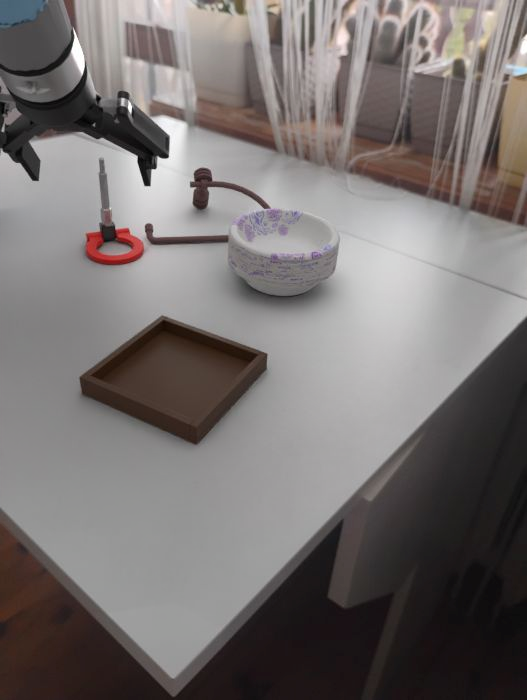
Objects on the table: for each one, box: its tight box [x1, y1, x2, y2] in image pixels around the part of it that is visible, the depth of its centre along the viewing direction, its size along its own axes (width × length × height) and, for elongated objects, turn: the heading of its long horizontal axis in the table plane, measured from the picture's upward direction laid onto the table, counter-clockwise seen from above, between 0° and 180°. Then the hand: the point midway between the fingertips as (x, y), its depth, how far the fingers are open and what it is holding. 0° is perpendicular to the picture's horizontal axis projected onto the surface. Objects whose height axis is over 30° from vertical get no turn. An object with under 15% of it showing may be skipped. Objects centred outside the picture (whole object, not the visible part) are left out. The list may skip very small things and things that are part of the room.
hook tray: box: [79, 314, 268, 445], centre depth 69 cm, size 15×15×2 cm
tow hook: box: [85, 157, 145, 265], centre depth 90 cm, size 8×13×9 cm
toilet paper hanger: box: [144, 167, 272, 245], centre depth 103 cm, size 22×8×14 cm
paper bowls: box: [227, 207, 341, 297], centre depth 87 cm, size 15×15×8 cm
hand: (92, 173), depth 77 cm, fingers open, 13 cm apart
